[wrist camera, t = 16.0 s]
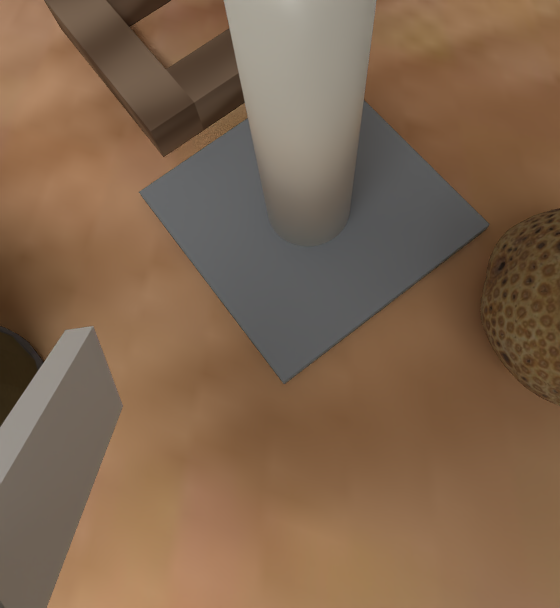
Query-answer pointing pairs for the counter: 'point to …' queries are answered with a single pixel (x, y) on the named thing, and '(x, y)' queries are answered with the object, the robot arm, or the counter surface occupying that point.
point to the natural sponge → (527, 303)
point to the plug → (304, 105)
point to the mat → (311, 259)
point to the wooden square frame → (152, 70)
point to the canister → (15, 369)
